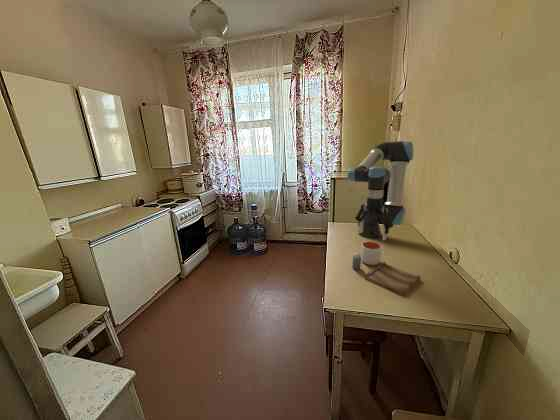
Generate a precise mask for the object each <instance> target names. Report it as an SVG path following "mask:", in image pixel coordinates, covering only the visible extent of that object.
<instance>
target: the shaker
mask: <svg viewBox="0 0 560 420" xmlns="http://www.w3.org/2000/svg"><path fill="white" fill-rule="evenodd" d="M361 262H362V260H361V253H358V252H355V253H354V254H353V255H352V266H351V267H352V270H354V271H357V272H358V271H361V264H362V263H361Z"/></svg>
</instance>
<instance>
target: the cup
mask: <svg viewBox="0 0 560 420" xmlns="http://www.w3.org/2000/svg"><path fill="white" fill-rule="evenodd" d="M382 247H383V246H382V245H381V244H380V243H378V242H375V241H364V242H362V243H361V253H360V255H361V262H362V263H364V264H365V265H368V266H378V265H380V264H381V257H382V256H381V255H382Z"/></svg>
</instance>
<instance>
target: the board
mask: <svg viewBox="0 0 560 420" xmlns="http://www.w3.org/2000/svg"><path fill="white" fill-rule="evenodd" d="M421 277H422V276H421V275H419V274H413V273H410V272H408V271H406V270H402V269H400V268H397V267H394V266H392V265H390V264H387V262H382V263H379V264H378V265H376V267H374V268H373V269H371V270H370V271H368V272H367V273H365V274H364V280H367V281H369V282H372V283H374V284H375V285H378V286H380V287H382V288H385V289H387V290H389V291H391V292H393V293H395V294H398V295H400V296H401V297H404V295H405V294H406V293H407V292H408V291H410V290H411V289H412V288H413V287H414V286H415V285H417V283H418V282H419V281H420V280H421Z"/></svg>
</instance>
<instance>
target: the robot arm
mask: <svg viewBox="0 0 560 420" xmlns="http://www.w3.org/2000/svg"><path fill="white" fill-rule="evenodd" d="M413 159H414V144H413V142H412V141H410V140H407V141H406V140H402V141H385V142H381V143H379V144H377V145H375V146H374V147H373V148H371V150H369V152H368V155H367V156H366V157H365V158H364V159H362V160H363V161H362V162H361V163H359V164H358V166H357V167H356V168H354V167H353V168H349V169H348V170H347V179H348V181H349V182H354V183H367V198H366V203H364V204H361V206H360V209H359V211H358V213H357V214H356V215H355V218H354V219H355V220H356V221H357V222H358V223H357V224H358V225H357V226H358V235H359V236H361V237H363V238H369V239H376V238H380V237H381V235H382V241H385V240H387V235H388V234H389V233H390V232H389V231H390V229H392V228H394V226H395V225H396V226H400V225H401V224H402V222H403V220H404V218H405V215H406V208H405V207H404V204H403V203H402V200H403V191H404V185H405V178H406V172H407V171H406V170H407V166H408V165H409V164H410V162H411V161H413ZM385 160H386V161H389V164H390V165H391V168H390V170H389V169H388V168H385V167H384V166H376V165H377V164H378V163H379V162H381V161H385ZM387 182H389V183H388V190H387V197H386V198H387V199H386V201H385V202H384V203H383V201H384V189H385V183H387ZM380 223H381V224H382V225H383V228H382V231H381V228H380V227H381V226H380Z"/></svg>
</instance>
